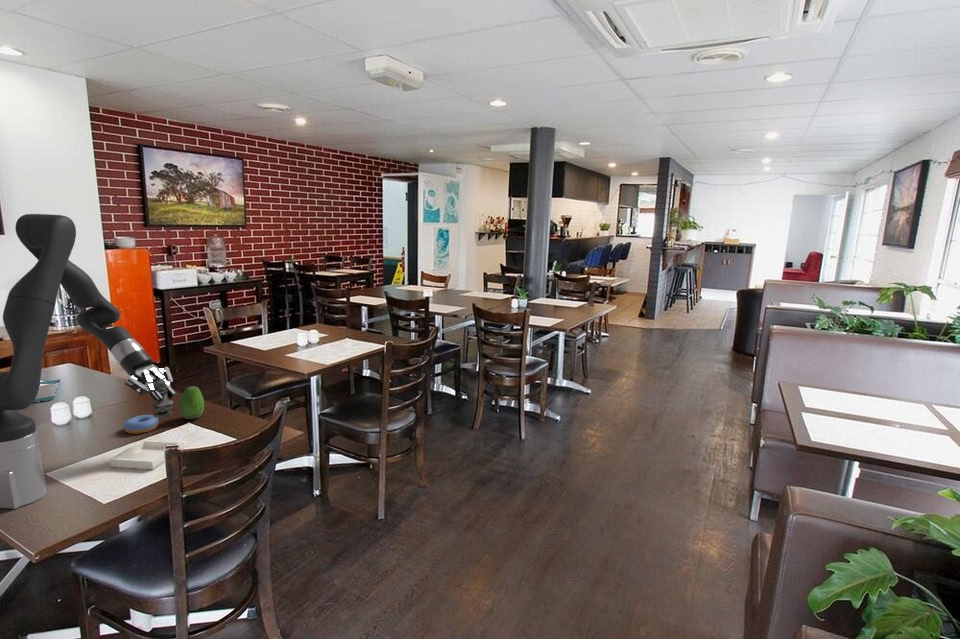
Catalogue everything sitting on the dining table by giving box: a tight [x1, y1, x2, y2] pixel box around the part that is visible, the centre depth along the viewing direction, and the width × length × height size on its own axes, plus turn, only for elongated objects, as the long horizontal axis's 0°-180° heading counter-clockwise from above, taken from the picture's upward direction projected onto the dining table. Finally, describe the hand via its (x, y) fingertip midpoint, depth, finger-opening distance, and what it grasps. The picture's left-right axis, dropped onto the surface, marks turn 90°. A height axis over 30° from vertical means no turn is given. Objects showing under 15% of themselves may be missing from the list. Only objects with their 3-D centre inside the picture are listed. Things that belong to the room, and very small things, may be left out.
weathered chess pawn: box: [150, 377, 174, 418], centre depth 152 cm, size 6×6×12 cm
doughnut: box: [123, 414, 160, 435], centre depth 168 cm, size 10×10×5 cm
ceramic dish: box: [109, 439, 185, 471], centre depth 148 cm, size 13×13×2 cm
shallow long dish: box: [34, 378, 62, 402], centre depth 201 cm, size 26×9×2 cm, turn 36°
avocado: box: [178, 385, 205, 420], centre depth 177 cm, size 8×8×12 cm
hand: (167, 398), depth 151 cm, fingers closed on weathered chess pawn, 3 cm apart
